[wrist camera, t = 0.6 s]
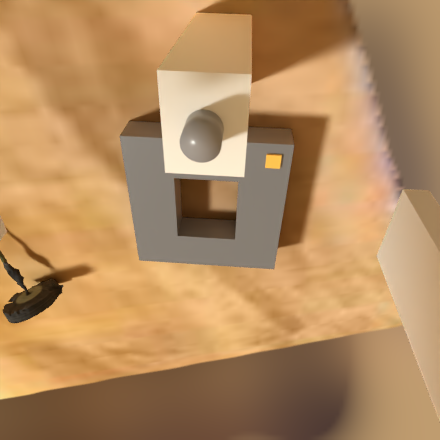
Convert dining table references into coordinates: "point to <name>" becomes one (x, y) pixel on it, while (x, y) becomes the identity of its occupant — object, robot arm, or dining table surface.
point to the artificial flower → (29, 296)
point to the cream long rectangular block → (207, 96)
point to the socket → (199, 227)
